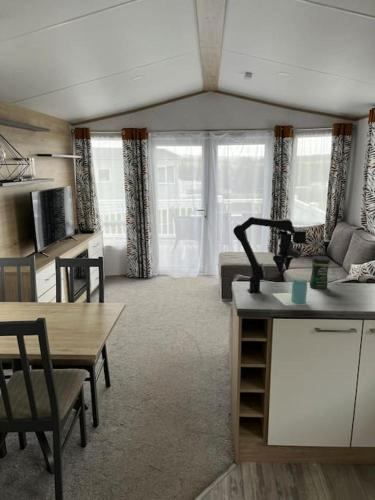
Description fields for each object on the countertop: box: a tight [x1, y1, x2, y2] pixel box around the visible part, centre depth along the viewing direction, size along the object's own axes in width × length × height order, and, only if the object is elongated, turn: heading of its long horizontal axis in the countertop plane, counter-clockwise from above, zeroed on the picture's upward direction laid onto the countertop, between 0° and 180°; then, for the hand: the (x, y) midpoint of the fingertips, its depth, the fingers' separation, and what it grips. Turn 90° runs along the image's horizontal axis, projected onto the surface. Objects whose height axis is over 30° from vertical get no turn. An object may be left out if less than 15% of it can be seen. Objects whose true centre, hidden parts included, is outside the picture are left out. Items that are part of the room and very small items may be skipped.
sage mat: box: [272, 292, 312, 306], centre depth 199 cm, size 19×14×1 cm
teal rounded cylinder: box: [291, 279, 308, 304], centre depth 193 cm, size 7×7×11 cm
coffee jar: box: [309, 255, 330, 290], centre depth 219 cm, size 10×8×19 cm
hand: (283, 271), depth 205 cm, fingers open, 9 cm apart
